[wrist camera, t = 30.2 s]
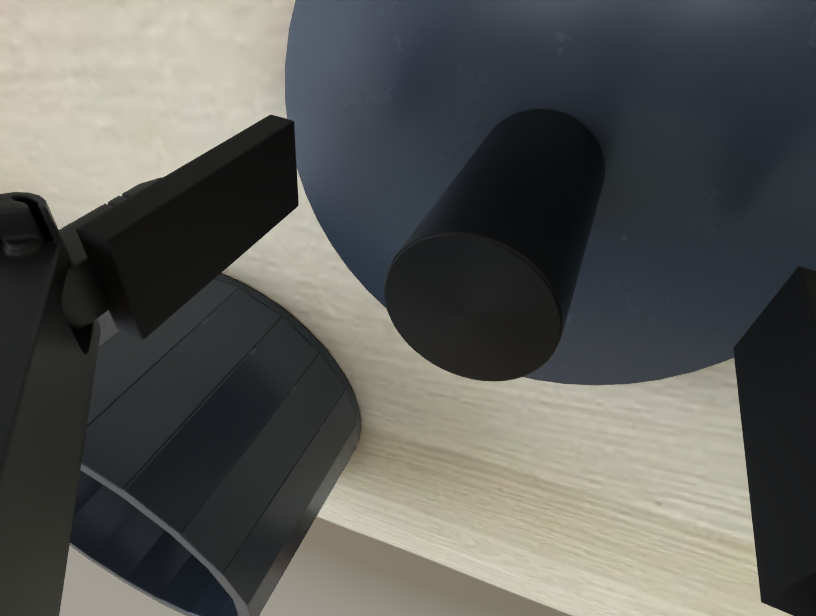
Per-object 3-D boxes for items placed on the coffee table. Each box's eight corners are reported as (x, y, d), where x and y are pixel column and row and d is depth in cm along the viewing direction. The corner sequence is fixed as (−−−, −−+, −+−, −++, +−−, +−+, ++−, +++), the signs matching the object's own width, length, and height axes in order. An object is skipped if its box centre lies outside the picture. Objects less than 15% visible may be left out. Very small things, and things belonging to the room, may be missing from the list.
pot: (368, 329, 26) (223, 534, 18) (355, 496, 38) (266, 663, 30) (95, 225, 30) (-124, 355, 22) (163, 406, 42) (37, 533, 34)
